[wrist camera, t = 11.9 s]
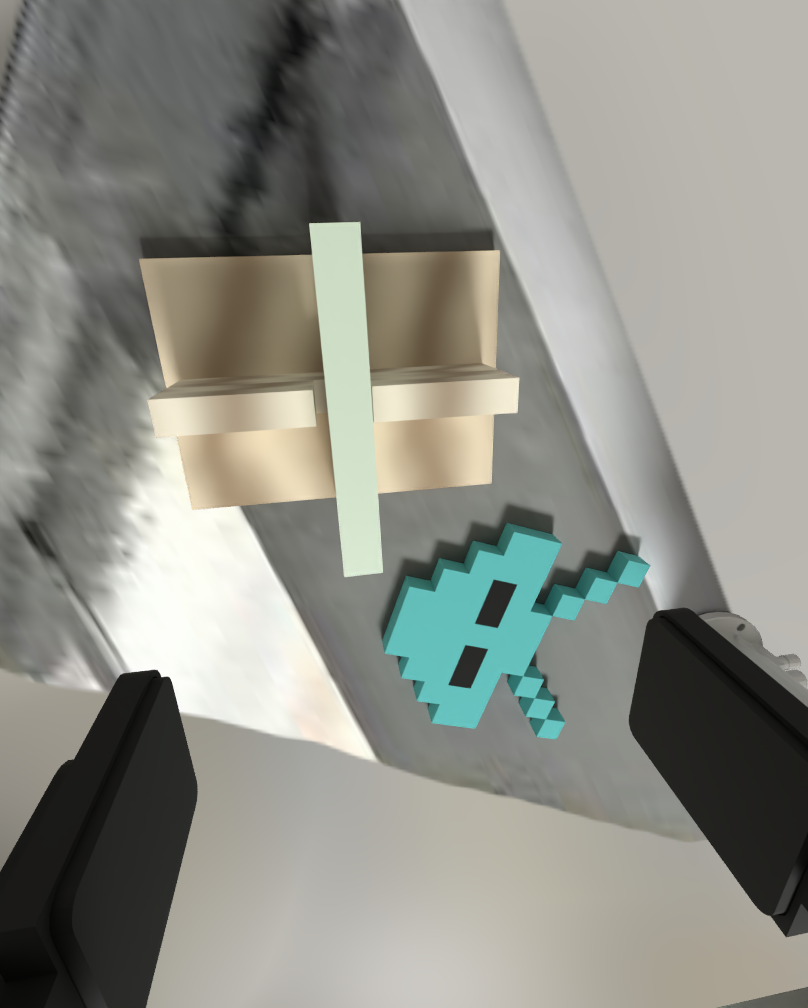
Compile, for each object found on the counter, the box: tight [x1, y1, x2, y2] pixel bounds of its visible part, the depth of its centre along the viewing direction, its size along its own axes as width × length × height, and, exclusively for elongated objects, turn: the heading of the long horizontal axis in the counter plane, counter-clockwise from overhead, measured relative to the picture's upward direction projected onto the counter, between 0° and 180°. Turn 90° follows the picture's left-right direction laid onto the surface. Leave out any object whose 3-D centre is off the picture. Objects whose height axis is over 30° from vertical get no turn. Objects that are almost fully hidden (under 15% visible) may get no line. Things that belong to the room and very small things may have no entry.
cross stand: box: [139, 250, 519, 510], centre depth 31 cm, size 22×16×8 cm
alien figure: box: [382, 523, 650, 739], centre depth 45 cm, size 20×2×20 cm
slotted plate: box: [309, 222, 383, 577], centre depth 28 cm, size 16×2×12 cm, turn 2°
